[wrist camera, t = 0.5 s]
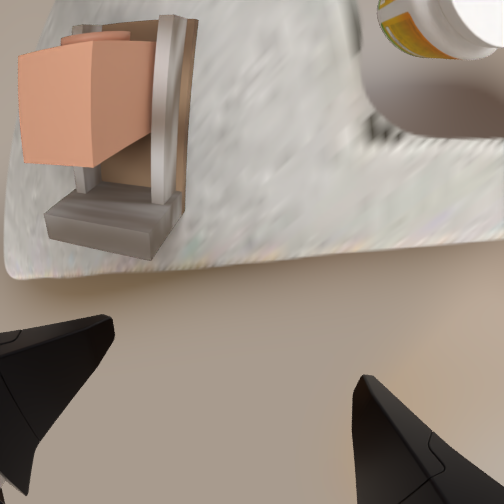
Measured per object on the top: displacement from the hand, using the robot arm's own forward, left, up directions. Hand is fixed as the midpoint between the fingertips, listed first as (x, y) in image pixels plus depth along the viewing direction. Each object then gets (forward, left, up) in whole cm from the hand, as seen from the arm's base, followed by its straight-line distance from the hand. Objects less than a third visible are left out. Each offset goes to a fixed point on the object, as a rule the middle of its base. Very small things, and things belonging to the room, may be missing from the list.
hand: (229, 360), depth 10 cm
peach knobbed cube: (-4, -12, -13) cm, 18 cm away
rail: (-1, -11, -15) cm, 19 cm away
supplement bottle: (-16, +4, -15) cm, 22 cm away
